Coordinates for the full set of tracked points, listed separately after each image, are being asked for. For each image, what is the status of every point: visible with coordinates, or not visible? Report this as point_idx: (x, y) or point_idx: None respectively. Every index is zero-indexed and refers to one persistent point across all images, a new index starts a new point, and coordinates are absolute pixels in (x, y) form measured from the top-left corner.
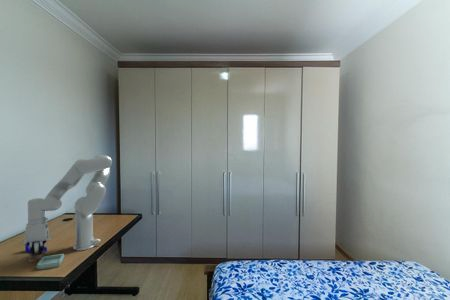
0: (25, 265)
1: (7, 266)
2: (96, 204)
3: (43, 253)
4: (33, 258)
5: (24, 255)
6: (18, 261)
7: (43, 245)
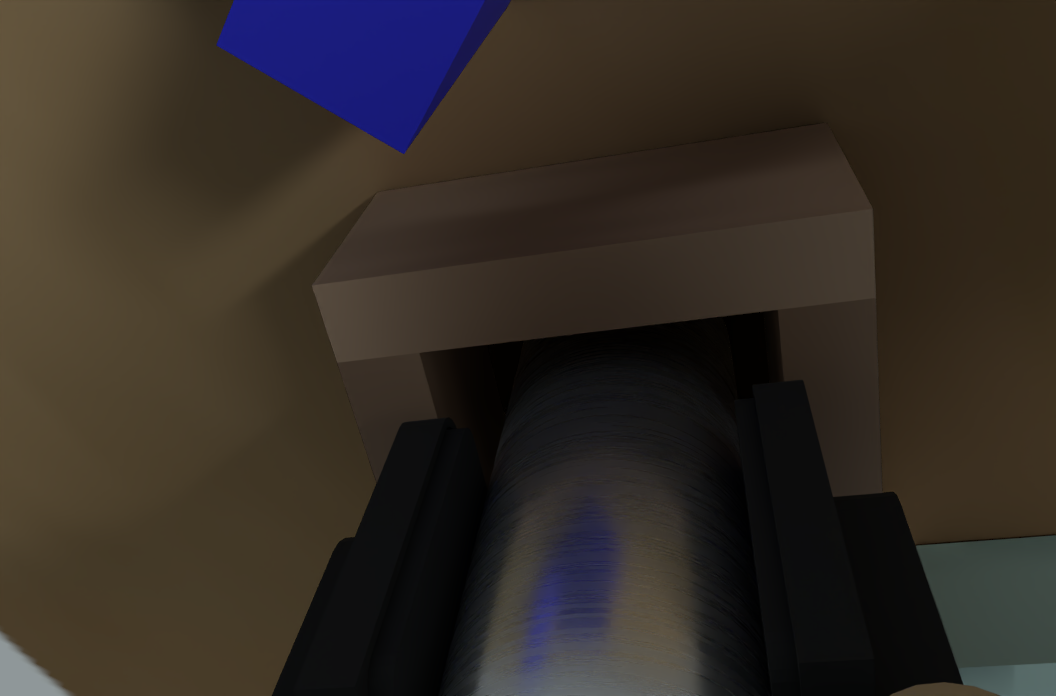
0: None
1: (58, 630)
2: None
3: (873, 429)
4: None
5: None
6: (111, 417)
7: (957, 668)
